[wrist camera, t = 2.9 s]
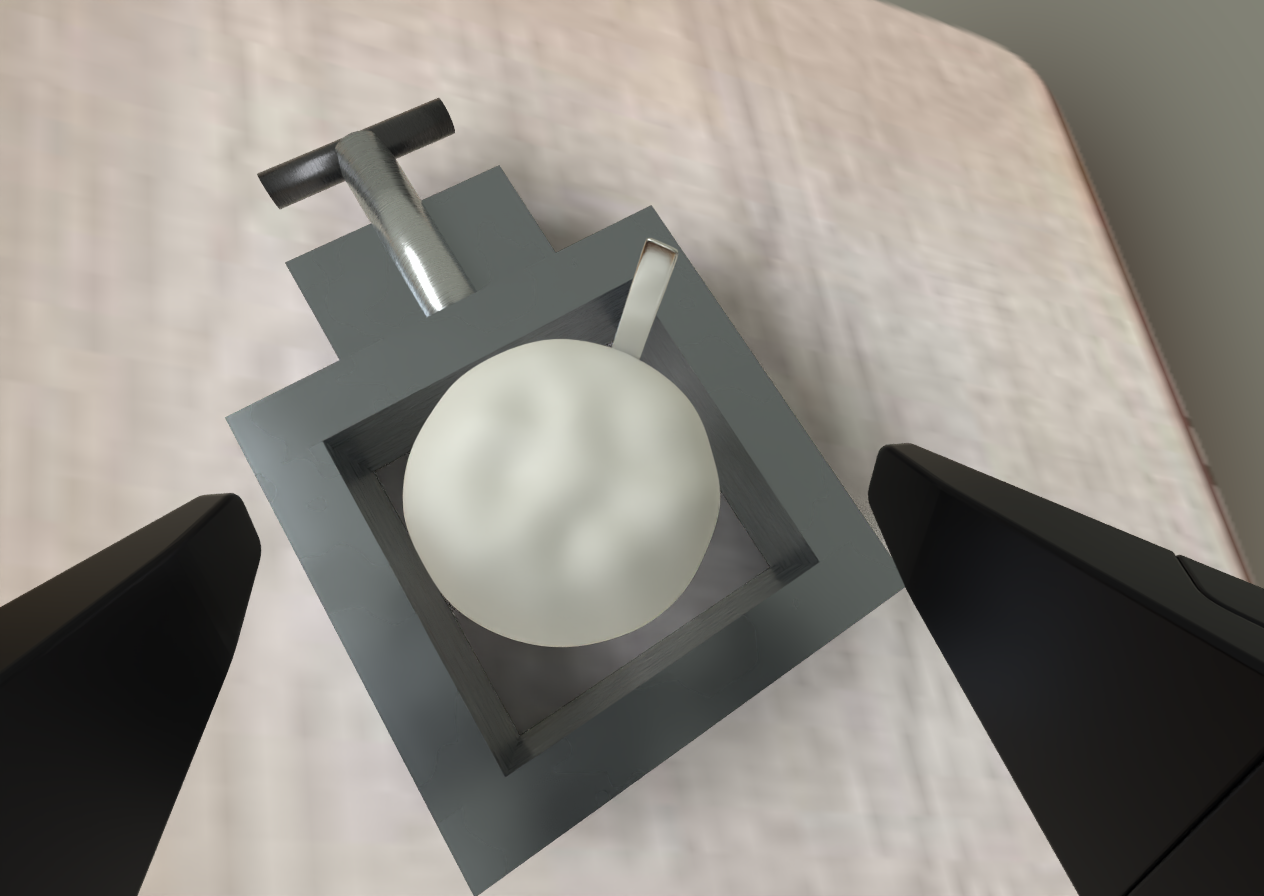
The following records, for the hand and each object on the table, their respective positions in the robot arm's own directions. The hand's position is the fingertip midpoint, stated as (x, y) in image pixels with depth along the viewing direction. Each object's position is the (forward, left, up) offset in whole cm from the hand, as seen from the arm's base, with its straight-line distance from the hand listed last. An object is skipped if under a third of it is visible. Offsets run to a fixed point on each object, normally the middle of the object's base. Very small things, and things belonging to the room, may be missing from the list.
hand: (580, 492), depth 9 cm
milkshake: (0, 0, -8) cm, 8 cm away
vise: (+3, 0, -8) cm, 9 cm away
